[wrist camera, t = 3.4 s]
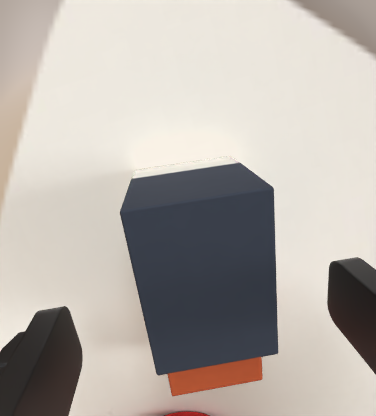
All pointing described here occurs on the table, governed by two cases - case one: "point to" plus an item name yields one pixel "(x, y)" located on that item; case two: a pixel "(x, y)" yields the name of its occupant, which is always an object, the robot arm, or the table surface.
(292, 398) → the table surface
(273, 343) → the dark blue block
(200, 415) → the tracker holder
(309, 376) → the table surface
